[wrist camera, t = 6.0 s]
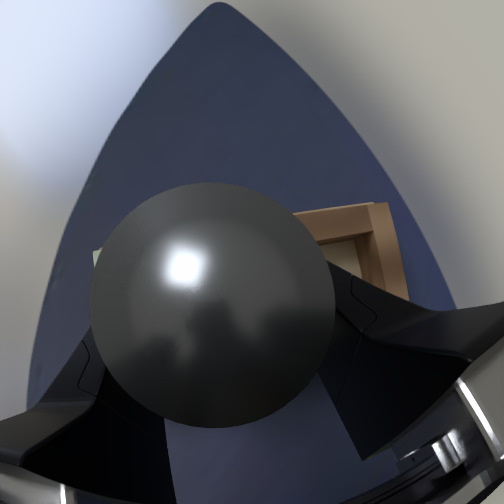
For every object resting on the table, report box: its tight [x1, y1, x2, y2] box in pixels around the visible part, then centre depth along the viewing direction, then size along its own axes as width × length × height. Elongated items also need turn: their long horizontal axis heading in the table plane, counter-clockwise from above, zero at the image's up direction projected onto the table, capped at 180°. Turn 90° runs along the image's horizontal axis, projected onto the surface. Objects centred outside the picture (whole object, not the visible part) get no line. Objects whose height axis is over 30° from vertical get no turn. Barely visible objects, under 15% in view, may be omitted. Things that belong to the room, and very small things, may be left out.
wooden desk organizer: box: [93, 202, 409, 301], centre depth 20 cm, size 12×24×4 cm, turn 101°
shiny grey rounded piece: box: [89, 183, 335, 428], centre depth 10 cm, size 4×4×11 cm
